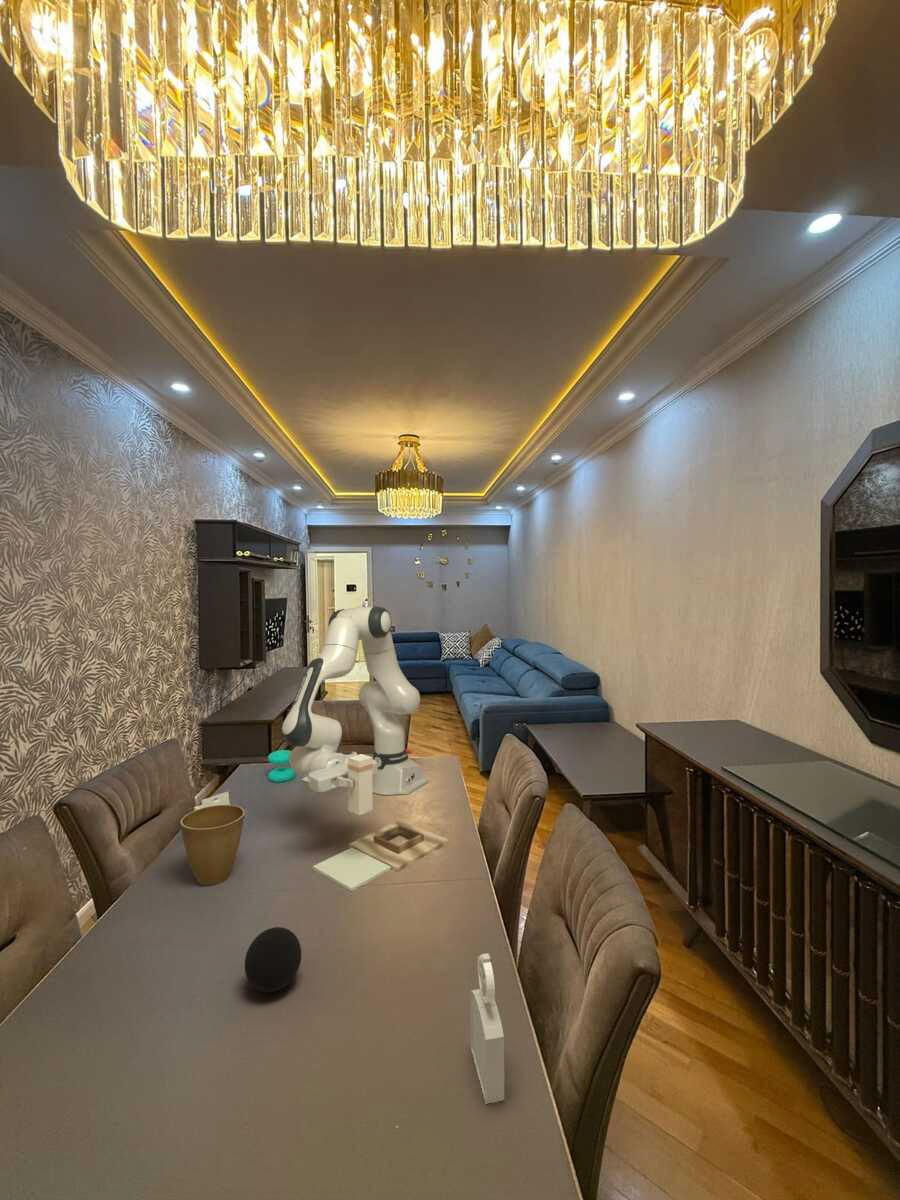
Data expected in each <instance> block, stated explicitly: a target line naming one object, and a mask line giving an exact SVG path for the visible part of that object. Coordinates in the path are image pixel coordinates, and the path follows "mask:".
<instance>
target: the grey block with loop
mask: <svg viewBox="0 0 900 1200" xmlns="http://www.w3.org/2000/svg"><path fill="white" fill-rule="evenodd" d="M477 977H478V984H479V988H478V989H471V990H470V991H469V992H470V993H469V994H470V995H469V996H470V997H469V998H470V999H469V1001H470V1003H469V1004H470V1010H469V1011H470V1050H471V1055H472V1054H473V1055H472V1058H474V1059H473V1062H474V1066H475V1065H476V1066H475V1070H476V1069H477V1070H476V1073H478V1074H477V1077H478V1080H480V1081H479V1084H481V1085H480V1088H482V1089H481V1092H482V1095H484V1096H483V1099H485V1100H484V1103H485V1105H486V1104H488V1103H493V1104H495V1103H494V1102H496V1101H497V1102H498V1101H503V1100H504V1101H505V1035H504V1030H503V1025H502V1021H501V1017H500V1013H499V1009H498V1006H497V1003H496V1000H495V999H496V987H495V986H496V985H495V983H496V982H495V977H494V971H493V965H492V962H491V956H490V954H489V953H481V955H478V957H477ZM504 1101H503V1102H504ZM498 1103H499V1102H498ZM488 1105H489V1104H488Z"/></svg>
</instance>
